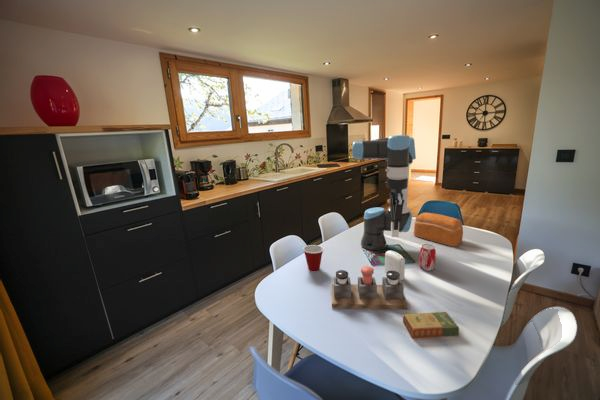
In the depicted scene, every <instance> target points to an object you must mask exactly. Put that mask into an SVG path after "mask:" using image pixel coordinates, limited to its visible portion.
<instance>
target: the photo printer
mask: <svg viewBox="0 0 600 400" xmlns="http://www.w3.org/2000/svg"><path fill="white" fill-rule="evenodd" d="M405 266H406V259H405V257H403V255H402V254H400V253H398V252H397V251H394V250H387V251H385V253H384V273H385V274H386V273H387V272H388V271H396V272H398V273H399V274H400V280H401V281H404V278H405V268H406V267H405Z"/></svg>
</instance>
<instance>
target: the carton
mask: <svg viewBox="0 0 600 400" xmlns="http://www.w3.org/2000/svg"><path fill="white" fill-rule="evenodd" d="M402 317H403V318H402V323H403V325H404V327H405V328H406V330H407V332H408V334H409V335H410V338H411V339H413V340H414V339H415V340H417V339H430V338H431V339H433V338H434V339H435V338H449V337H451V338H452V337H453V338H454V337H458V336H460V335H459V333H460V328H459V326H458V324H457V323H456V322H455V321H454V320H453V318H452V317H451V315H449V314H448V313H447V312H446V311H437V312H436V311H434V312H422V313H421V312H420V313H419V312H417V313H405V314H404V313H403V316H402Z"/></svg>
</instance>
